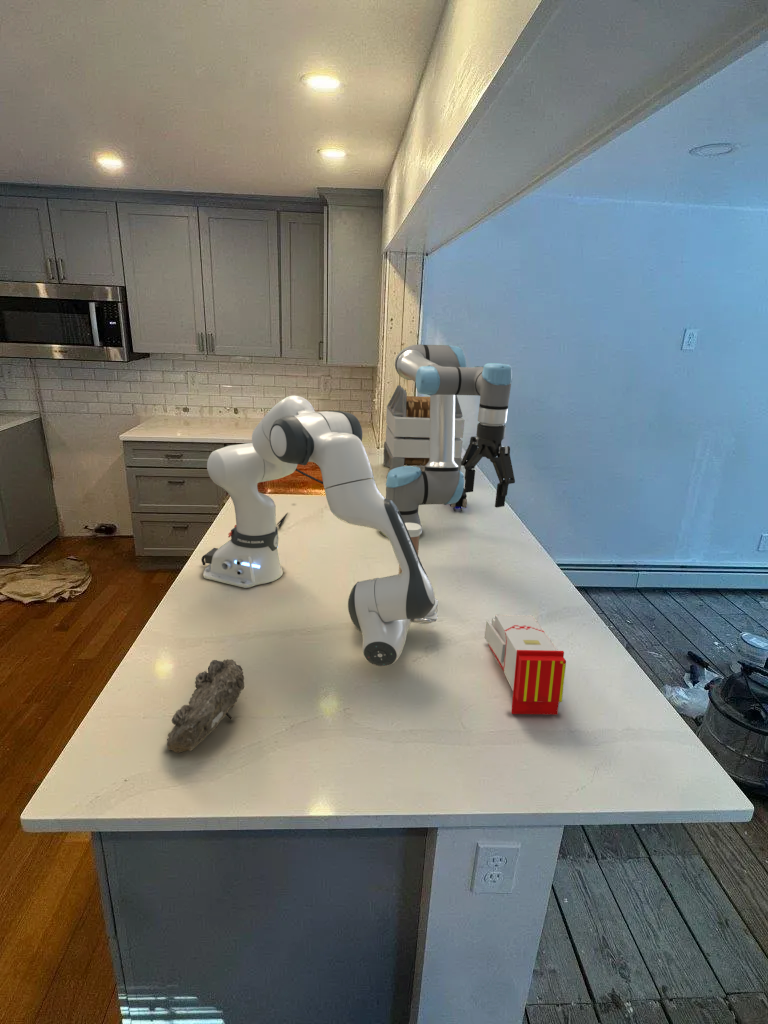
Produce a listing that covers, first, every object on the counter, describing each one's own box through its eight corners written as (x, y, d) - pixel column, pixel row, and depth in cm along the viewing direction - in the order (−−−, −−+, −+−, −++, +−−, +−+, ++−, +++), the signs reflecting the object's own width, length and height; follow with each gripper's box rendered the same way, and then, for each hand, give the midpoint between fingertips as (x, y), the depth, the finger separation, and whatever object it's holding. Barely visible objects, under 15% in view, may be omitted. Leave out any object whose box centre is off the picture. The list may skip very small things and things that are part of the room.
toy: (530, 600, 137) (574, 657, 108) (525, 651, 140) (567, 720, 111) (480, 599, 137) (511, 656, 107) (477, 651, 139) (506, 719, 110)
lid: (406, 527, 157) (407, 520, 156) (424, 532, 154) (424, 525, 153) (395, 533, 152) (396, 526, 152) (414, 538, 150) (414, 531, 149)
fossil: (192, 660, 117) (244, 628, 112) (224, 691, 120) (276, 661, 115) (142, 746, 98) (202, 712, 93) (182, 779, 101) (242, 748, 96)
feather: (294, 507, 225) (297, 503, 224) (277, 531, 198) (280, 526, 197) (290, 504, 224) (293, 500, 224) (273, 528, 198) (276, 524, 197)
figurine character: (467, 516, 223) (461, 500, 237) (469, 499, 220) (463, 483, 233) (450, 516, 223) (446, 499, 236) (452, 498, 220) (447, 483, 233)
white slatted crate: (382, 463, 289) (386, 382, 275) (445, 464, 293) (451, 384, 279) (390, 482, 257) (394, 392, 243) (460, 483, 261) (468, 394, 247)
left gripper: (437, 611, 130) (442, 584, 143) (350, 600, 133) (363, 574, 146) (435, 635, 132) (440, 606, 145) (350, 623, 136) (362, 596, 148)
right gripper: (535, 432, 143) (524, 511, 150) (473, 414, 163) (467, 484, 170) (512, 434, 139) (502, 515, 146) (452, 415, 159) (446, 487, 167)
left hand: (400, 590), depth 146 cm, fingers open, 8 cm apart
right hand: (483, 499), depth 158 cm, fingers open, 13 cm apart
